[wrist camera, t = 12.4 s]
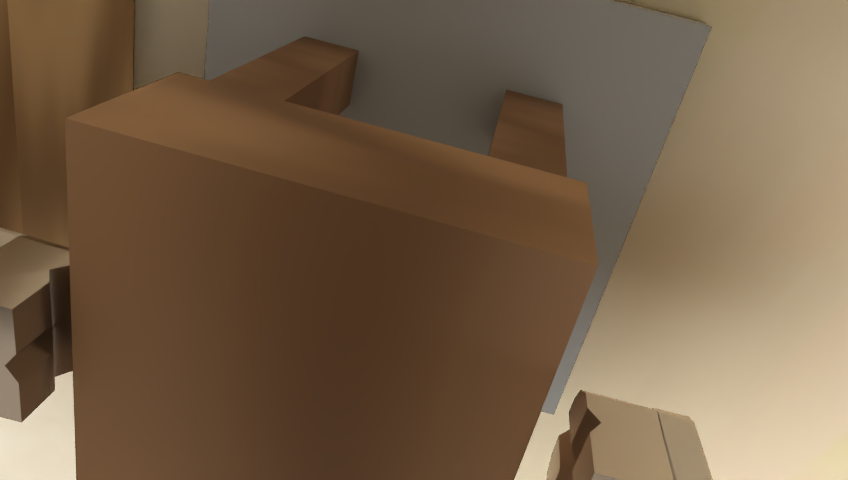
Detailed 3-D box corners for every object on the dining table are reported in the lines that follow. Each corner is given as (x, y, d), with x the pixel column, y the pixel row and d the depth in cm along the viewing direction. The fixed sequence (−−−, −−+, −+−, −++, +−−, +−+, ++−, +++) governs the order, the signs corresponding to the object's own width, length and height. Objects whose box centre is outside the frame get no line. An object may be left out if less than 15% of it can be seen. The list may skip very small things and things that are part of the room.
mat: (228, -98, 14) (215, -99, 13) (704, 22, 13) (711, 27, 13) (198, 301, 18) (188, 313, 18) (553, 399, 18) (553, 414, 17)
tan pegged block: (266, 265, 17) (77, 495, 10) (296, 24, 14) (64, 117, 7) (497, 332, 16) (460, 614, 10) (574, 97, 14) (598, 265, 7)
